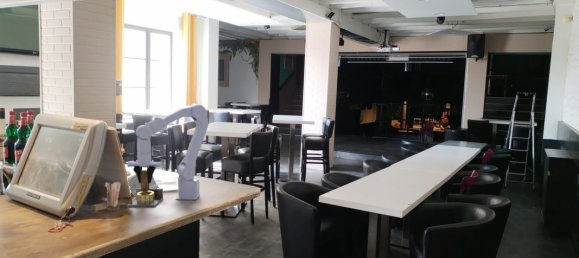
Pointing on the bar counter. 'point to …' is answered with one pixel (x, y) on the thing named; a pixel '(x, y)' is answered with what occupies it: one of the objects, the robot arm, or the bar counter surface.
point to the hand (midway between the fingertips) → (145, 182)
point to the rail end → (144, 181)
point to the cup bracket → (147, 198)
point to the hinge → (139, 184)
